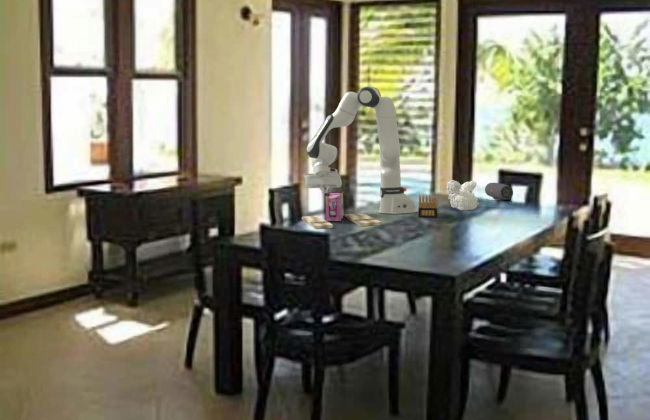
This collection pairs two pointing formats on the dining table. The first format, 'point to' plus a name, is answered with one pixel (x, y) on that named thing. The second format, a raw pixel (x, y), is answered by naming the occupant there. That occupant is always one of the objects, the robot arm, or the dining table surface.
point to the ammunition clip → (428, 207)
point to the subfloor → (357, 218)
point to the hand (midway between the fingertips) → (325, 192)
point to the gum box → (334, 206)
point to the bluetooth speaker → (498, 191)
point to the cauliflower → (462, 195)
